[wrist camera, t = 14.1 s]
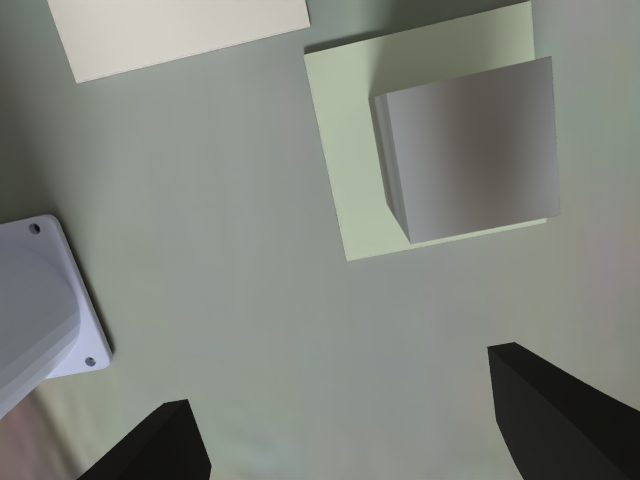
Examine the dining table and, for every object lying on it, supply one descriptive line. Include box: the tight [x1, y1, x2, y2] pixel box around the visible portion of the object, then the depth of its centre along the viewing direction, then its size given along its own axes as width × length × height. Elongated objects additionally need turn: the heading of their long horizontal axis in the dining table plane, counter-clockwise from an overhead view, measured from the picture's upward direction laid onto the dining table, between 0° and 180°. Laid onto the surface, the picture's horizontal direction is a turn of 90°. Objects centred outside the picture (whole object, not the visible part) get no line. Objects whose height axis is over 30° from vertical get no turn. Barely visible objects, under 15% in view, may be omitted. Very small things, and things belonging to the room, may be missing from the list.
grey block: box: [368, 56, 561, 244], centre depth 15 cm, size 4×4×6 cm
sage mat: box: [304, 1, 546, 261], centre depth 18 cm, size 9×9×1 cm
